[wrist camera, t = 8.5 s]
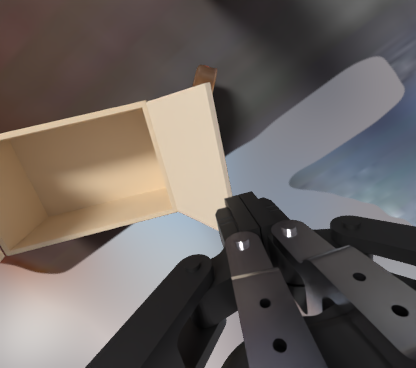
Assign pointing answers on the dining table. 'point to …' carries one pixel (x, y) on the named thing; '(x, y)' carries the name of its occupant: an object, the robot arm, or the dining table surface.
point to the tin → (205, 76)
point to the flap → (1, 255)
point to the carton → (80, 178)
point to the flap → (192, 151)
